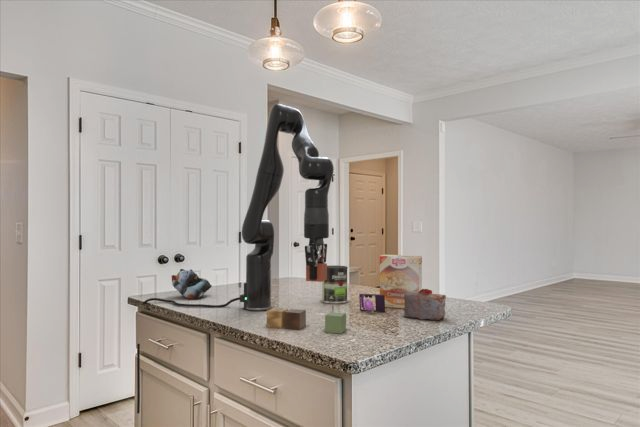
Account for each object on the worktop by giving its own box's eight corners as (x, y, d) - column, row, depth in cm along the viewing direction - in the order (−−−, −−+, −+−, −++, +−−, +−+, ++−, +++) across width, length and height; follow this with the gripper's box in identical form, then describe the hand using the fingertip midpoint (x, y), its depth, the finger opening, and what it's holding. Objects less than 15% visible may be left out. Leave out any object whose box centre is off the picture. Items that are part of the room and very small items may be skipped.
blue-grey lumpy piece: (196, 300, 181) (179, 270, 181) (177, 309, 187) (160, 280, 186) (217, 285, 195) (201, 257, 194) (199, 294, 200) (183, 267, 199)
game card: (384, 293, 160) (359, 292, 162) (383, 301, 155) (357, 299, 157) (385, 310, 162) (360, 309, 164) (383, 318, 157) (358, 316, 159)
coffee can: (352, 302, 179) (352, 267, 179) (329, 304, 174) (329, 268, 174) (339, 298, 188) (339, 264, 188) (317, 300, 183) (317, 265, 184)
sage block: (325, 332, 131) (325, 315, 131) (330, 328, 136) (330, 311, 136) (341, 333, 130) (341, 316, 130) (346, 329, 134) (346, 313, 134)
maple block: (266, 326, 138) (266, 310, 138) (273, 323, 142) (273, 307, 142) (281, 328, 136) (281, 311, 136) (288, 324, 141) (288, 308, 141)
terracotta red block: (305, 281, 134) (305, 264, 135) (311, 278, 139) (311, 262, 139) (321, 281, 133) (321, 264, 133) (326, 279, 137) (326, 263, 138)
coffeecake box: (379, 306, 170) (379, 255, 170) (383, 303, 176) (383, 254, 177) (419, 310, 164) (418, 256, 164) (422, 306, 171) (422, 255, 171)
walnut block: (284, 328, 136) (284, 311, 136) (290, 324, 140) (291, 308, 140) (299, 329, 134) (299, 313, 134) (305, 326, 139) (305, 310, 139)
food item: (448, 317, 151) (448, 288, 151) (443, 322, 144) (442, 291, 144) (408, 313, 157) (408, 285, 157) (401, 318, 150) (401, 288, 150)
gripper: (313, 222, 144) (313, 275, 144) (296, 222, 131) (296, 281, 130) (335, 222, 142) (335, 276, 141) (320, 222, 128) (320, 282, 128)
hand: (316, 278), depth 136 cm, fingers closed on terracotta red block, 5 cm apart
